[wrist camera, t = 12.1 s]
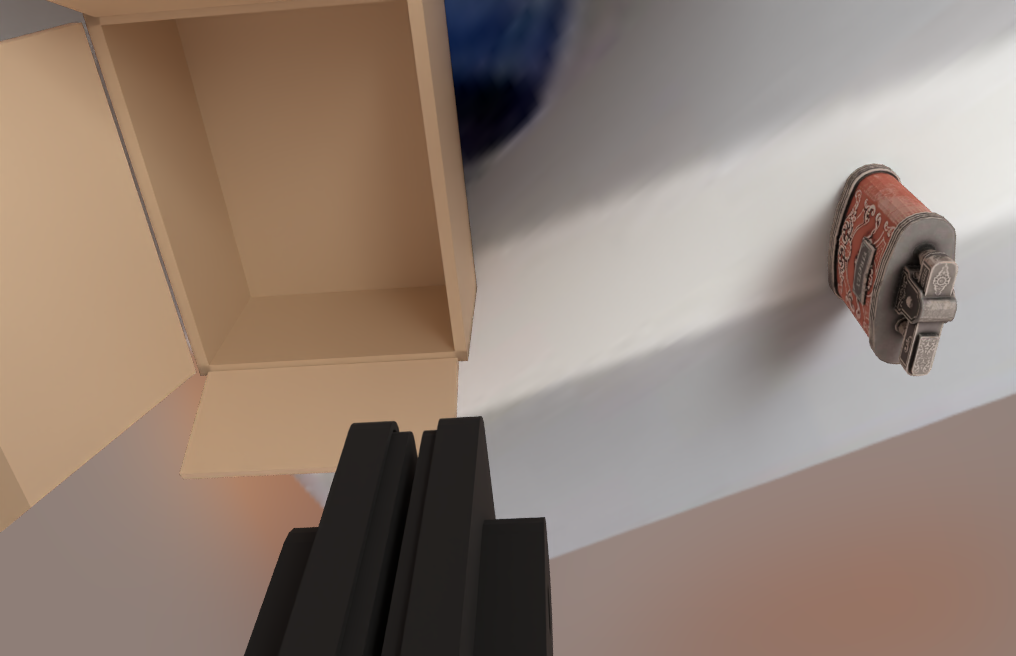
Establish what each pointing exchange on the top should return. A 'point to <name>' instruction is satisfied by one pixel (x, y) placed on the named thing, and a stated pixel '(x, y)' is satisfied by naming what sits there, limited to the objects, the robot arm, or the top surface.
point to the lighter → (893, 267)
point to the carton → (299, 213)
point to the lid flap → (72, 274)
